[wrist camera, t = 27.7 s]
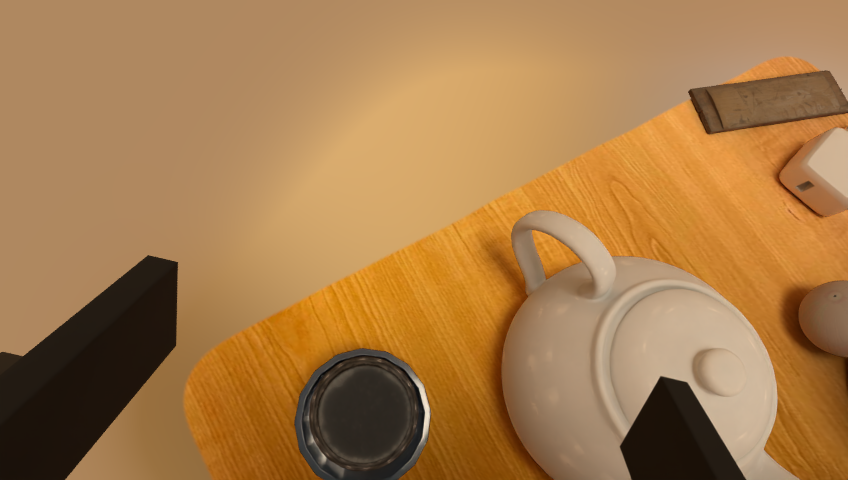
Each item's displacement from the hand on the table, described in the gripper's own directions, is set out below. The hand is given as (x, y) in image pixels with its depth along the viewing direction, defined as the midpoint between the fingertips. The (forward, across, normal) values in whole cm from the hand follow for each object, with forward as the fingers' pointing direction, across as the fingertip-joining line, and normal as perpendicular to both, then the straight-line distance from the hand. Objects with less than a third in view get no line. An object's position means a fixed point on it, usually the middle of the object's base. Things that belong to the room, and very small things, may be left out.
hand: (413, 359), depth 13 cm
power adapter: (+35, +39, +4) cm, 52 cm away
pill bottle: (+16, -1, -18) cm, 24 cm away
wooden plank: (+40, +32, +6) cm, 51 cm away
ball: (+27, +34, -6) cm, 44 cm away
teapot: (+20, +16, -14) cm, 30 cm away
